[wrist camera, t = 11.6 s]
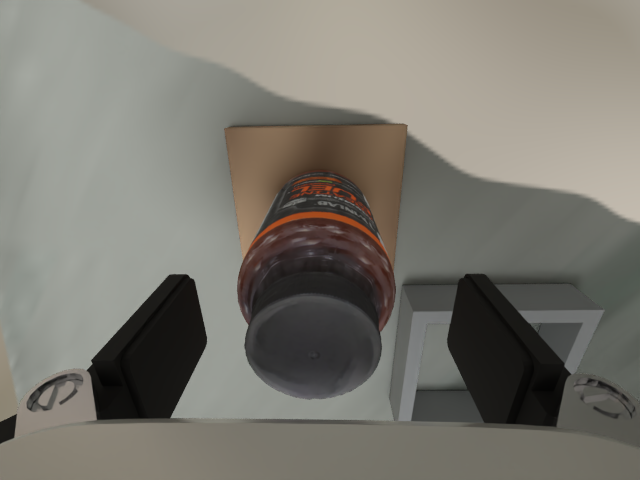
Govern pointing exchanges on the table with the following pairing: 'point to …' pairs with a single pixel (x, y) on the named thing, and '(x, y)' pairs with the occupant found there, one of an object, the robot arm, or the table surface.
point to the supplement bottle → (316, 289)
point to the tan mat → (317, 168)
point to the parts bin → (436, 308)
